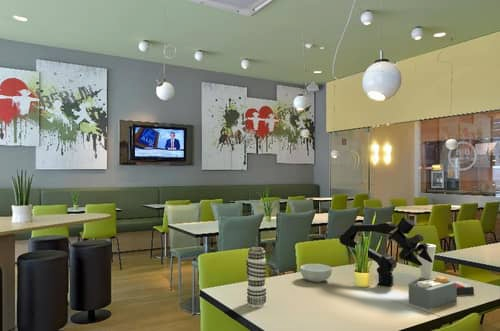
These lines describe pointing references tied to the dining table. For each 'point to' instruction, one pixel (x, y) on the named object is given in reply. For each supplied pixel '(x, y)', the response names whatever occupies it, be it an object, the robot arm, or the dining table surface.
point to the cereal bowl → (316, 272)
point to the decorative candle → (256, 277)
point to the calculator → (464, 288)
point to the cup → (427, 266)
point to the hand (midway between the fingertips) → (426, 263)
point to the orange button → (442, 279)
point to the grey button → (423, 284)
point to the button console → (433, 294)
